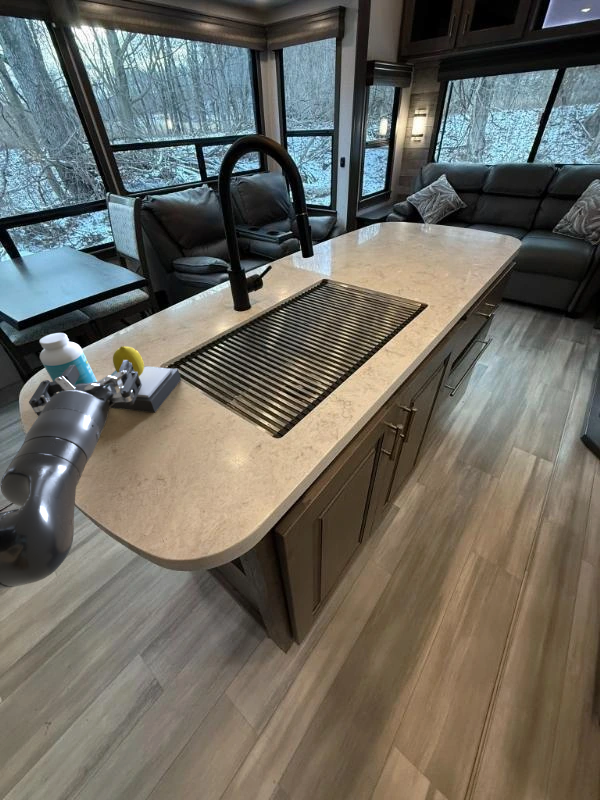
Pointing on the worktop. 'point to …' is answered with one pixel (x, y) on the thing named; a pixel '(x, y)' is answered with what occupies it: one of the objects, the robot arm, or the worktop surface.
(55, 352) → the pill bottle
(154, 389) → the scale
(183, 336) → the worktop surface
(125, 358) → the lemon
